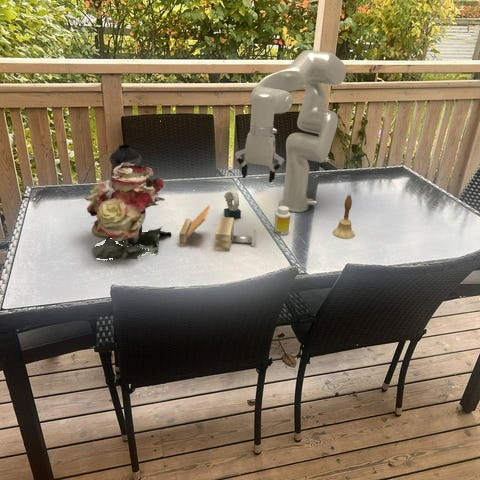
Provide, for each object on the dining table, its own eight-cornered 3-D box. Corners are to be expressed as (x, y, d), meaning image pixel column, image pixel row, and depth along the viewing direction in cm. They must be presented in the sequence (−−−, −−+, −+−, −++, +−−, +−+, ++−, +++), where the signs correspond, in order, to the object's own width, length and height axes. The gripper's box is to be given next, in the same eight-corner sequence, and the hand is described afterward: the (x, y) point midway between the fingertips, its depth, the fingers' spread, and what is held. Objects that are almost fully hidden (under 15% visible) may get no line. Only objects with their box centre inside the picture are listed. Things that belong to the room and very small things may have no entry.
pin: (255, 240, 166) (256, 229, 164) (254, 246, 163) (255, 234, 160) (233, 239, 167) (233, 227, 165) (232, 244, 163) (232, 233, 161)
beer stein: (146, 194, 199) (143, 138, 187) (153, 213, 183) (150, 153, 171) (107, 198, 194) (102, 140, 182) (111, 217, 178) (105, 156, 166)
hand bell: (341, 240, 170) (348, 201, 162) (328, 231, 176) (334, 193, 169) (358, 236, 173) (366, 198, 166) (345, 227, 180) (351, 190, 172)
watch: (234, 211, 188) (235, 187, 183) (242, 220, 181) (243, 194, 176) (221, 213, 186) (222, 188, 180) (229, 222, 179) (230, 196, 174)
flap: (210, 206, 165) (208, 204, 165) (205, 220, 155) (203, 218, 155) (193, 223, 169) (191, 221, 169) (187, 238, 159) (185, 236, 159)
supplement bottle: (291, 234, 173) (293, 209, 168) (278, 236, 170) (280, 212, 165) (283, 227, 177) (286, 203, 172) (271, 230, 175) (273, 206, 170)
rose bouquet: (97, 227, 171) (88, 149, 156) (174, 231, 171) (172, 154, 156) (73, 262, 148) (60, 176, 134) (162, 267, 148) (158, 181, 134)
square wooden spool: (233, 233, 171) (233, 217, 168) (229, 251, 159) (229, 234, 156) (186, 229, 172) (186, 214, 169) (179, 247, 160) (178, 230, 157)
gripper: (289, 131, 152) (284, 179, 160) (240, 125, 157) (237, 172, 165) (283, 136, 146) (279, 186, 154) (233, 129, 150) (231, 178, 158)
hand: (257, 179), depth 159 cm, fingers open, 9 cm apart
